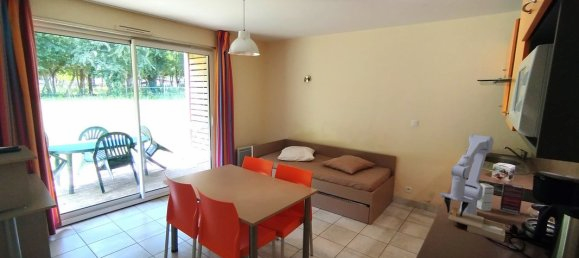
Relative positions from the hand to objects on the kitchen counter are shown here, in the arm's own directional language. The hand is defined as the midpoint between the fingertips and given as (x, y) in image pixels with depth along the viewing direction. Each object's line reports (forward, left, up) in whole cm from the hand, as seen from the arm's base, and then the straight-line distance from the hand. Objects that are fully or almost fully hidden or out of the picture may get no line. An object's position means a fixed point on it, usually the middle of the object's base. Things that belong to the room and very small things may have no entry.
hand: (454, 213), depth 137 cm
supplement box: (-36, +23, -4) cm, 43 cm away
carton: (0, +14, -4) cm, 14 cm away
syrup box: (-30, +11, -4) cm, 32 cm away
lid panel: (0, +5, -1) cm, 5 cm away
